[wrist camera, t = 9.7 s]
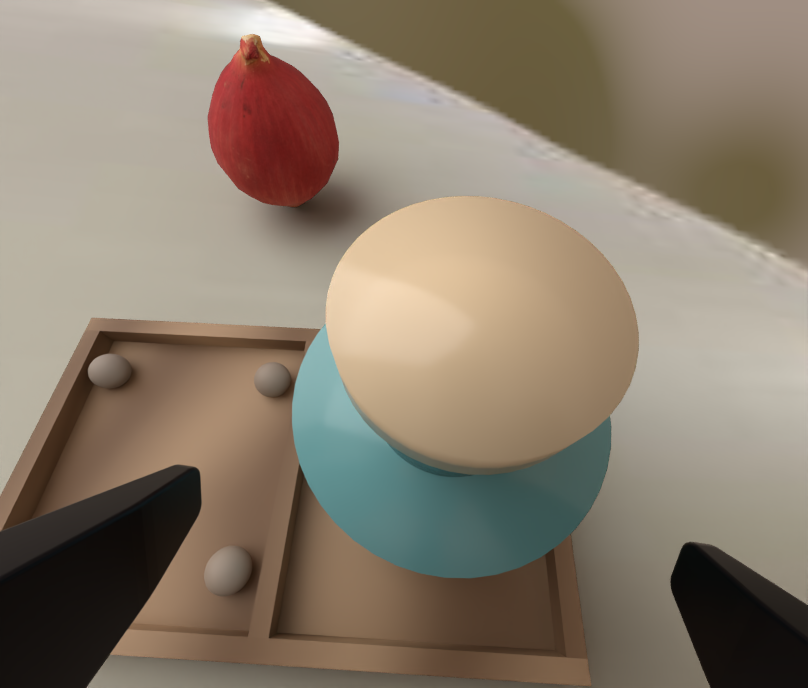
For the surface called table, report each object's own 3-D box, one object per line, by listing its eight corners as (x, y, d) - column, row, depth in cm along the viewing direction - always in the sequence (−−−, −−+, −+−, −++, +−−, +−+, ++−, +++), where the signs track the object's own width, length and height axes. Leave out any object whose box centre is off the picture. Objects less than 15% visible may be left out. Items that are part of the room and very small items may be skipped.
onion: (219, 213, 21) (129, 44, 14) (288, 155, 24) (240, -14, 16) (302, 257, 20) (248, 94, 13) (367, 191, 22) (351, 22, 15)
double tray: (534, 355, 17) (547, 336, 16) (571, 672, 12) (596, 689, 10) (113, 334, 18) (86, 314, 16) (-28, 633, 12) (-87, 644, 11)
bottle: (522, 475, 14) (819, 290, 4) (431, 599, 12) (567, 817, 2) (416, 386, 16) (444, 98, 6) (322, 485, 14) (119, 316, 4)
